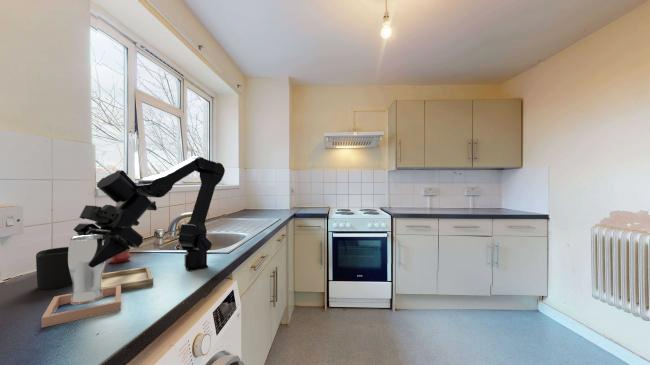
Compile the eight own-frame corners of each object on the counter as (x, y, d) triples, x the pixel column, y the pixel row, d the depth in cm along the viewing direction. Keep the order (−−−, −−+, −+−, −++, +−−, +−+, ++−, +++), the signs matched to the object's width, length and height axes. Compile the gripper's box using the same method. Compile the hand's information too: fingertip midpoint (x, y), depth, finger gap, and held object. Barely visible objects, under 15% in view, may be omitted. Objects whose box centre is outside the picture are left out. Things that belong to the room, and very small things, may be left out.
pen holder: (87, 277, 84) (87, 245, 84) (69, 288, 75) (70, 253, 75) (49, 280, 81) (49, 247, 81) (26, 292, 72) (26, 255, 72)
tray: (149, 272, 89) (149, 266, 89) (153, 285, 78) (153, 278, 78) (94, 281, 81) (94, 274, 81) (89, 297, 70) (89, 289, 70)
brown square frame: (120, 291, 73) (120, 284, 73) (120, 310, 63) (120, 301, 63) (54, 304, 65) (54, 296, 65) (41, 327, 55) (41, 318, 55)
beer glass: (82, 307, 60) (83, 241, 60) (59, 303, 61) (59, 239, 61) (113, 294, 67) (114, 235, 67) (91, 291, 68) (91, 233, 68)
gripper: (82, 192, 71) (24, 243, 61) (131, 194, 65) (76, 250, 54) (114, 218, 78) (68, 266, 68) (161, 221, 72) (117, 276, 62)
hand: (80, 265), depth 63 cm, fingers closed on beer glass, 7 cm apart
